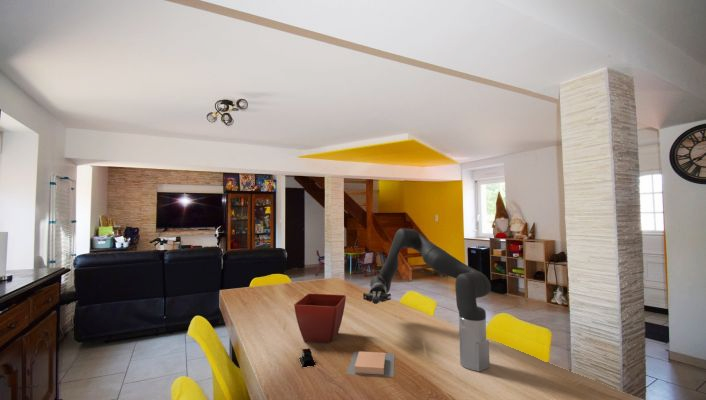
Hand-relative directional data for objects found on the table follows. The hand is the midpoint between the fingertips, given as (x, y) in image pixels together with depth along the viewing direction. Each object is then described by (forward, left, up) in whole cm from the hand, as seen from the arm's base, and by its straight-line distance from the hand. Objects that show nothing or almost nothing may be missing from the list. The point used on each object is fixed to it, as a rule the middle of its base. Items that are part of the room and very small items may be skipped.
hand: (375, 301), depth 135 cm
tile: (-9, +8, -17) cm, 21 cm away
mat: (-12, +10, -19) cm, 25 cm away
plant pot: (+22, +14, -19) cm, 32 cm away
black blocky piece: (+4, +29, -19) cm, 35 cm away
